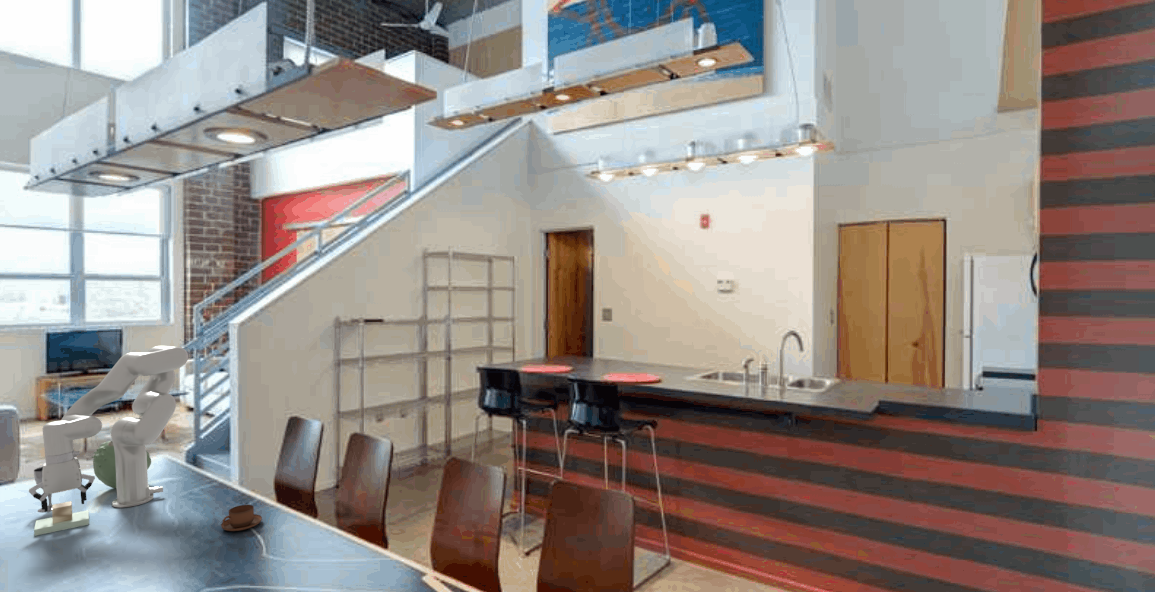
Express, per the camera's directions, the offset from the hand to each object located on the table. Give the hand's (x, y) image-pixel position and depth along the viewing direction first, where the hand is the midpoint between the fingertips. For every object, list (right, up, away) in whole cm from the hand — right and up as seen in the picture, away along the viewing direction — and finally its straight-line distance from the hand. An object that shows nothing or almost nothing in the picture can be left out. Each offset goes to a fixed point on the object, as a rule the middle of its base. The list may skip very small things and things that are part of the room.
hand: (64, 506), depth 211 cm
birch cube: (0, -4, -1) cm, 4 cm away
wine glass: (-18, -6, +15) cm, 24 cm away
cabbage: (-7, -5, +36) cm, 37 cm away
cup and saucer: (+62, -6, -4) cm, 63 cm away
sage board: (0, -6, -1) cm, 6 cm away
